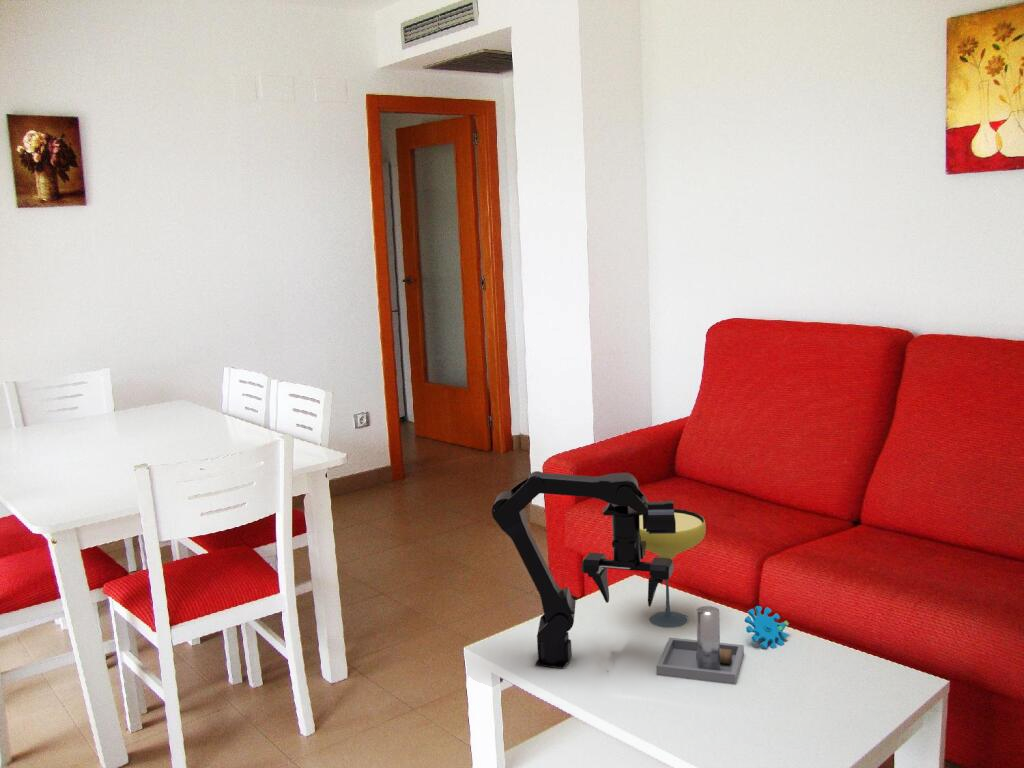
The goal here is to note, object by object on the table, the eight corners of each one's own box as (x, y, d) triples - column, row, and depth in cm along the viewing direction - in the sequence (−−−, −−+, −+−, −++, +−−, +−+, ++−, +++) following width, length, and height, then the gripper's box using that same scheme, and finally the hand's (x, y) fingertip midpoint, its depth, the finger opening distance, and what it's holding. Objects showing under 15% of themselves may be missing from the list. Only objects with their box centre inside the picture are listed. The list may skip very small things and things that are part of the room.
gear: (757, 649, 204) (741, 605, 210) (743, 660, 208) (728, 617, 214) (799, 645, 208) (782, 602, 214) (784, 656, 212) (768, 614, 218)
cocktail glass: (669, 600, 236) (667, 503, 232) (723, 623, 221) (722, 520, 217) (613, 620, 226) (610, 519, 222) (666, 645, 211) (664, 538, 207)
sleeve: (701, 675, 196) (700, 616, 193) (694, 665, 200) (693, 607, 198) (723, 673, 196) (722, 614, 194) (716, 663, 201) (715, 605, 198)
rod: (698, 660, 203) (696, 660, 201) (699, 646, 204) (696, 646, 201) (731, 664, 201) (729, 664, 198) (732, 649, 202) (730, 649, 199)
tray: (656, 677, 197) (656, 665, 197) (669, 648, 210) (669, 637, 210) (735, 686, 192) (735, 674, 191) (743, 656, 204) (743, 645, 204)
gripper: (677, 524, 204) (679, 593, 207) (593, 519, 211) (596, 586, 214) (667, 541, 194) (669, 613, 197) (579, 535, 201) (582, 605, 203)
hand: (628, 603), depth 203 cm, fingers open, 9 cm apart
